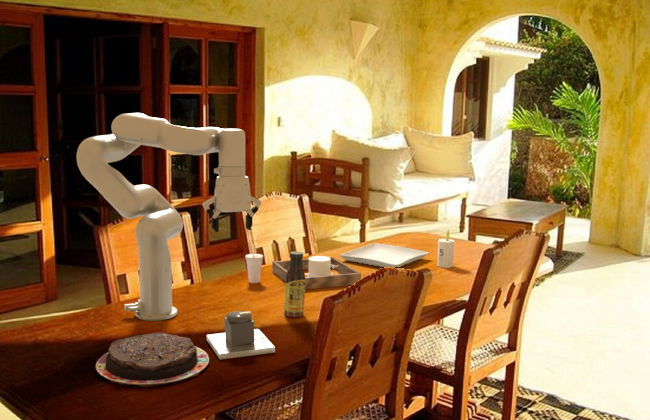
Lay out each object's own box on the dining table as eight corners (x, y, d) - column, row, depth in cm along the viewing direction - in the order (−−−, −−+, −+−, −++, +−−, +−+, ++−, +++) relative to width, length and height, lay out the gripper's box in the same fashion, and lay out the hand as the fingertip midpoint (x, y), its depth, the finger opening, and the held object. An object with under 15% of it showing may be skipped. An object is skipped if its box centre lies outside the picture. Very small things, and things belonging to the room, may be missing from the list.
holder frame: (295, 290, 245) (295, 279, 245) (272, 271, 269) (272, 261, 268) (360, 284, 255) (360, 273, 254) (332, 266, 279) (332, 256, 278)
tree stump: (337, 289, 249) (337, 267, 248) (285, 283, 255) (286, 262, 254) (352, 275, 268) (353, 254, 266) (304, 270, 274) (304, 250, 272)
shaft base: (219, 359, 183) (219, 333, 181) (206, 340, 196) (206, 315, 195) (274, 352, 188) (275, 327, 187) (258, 333, 202) (258, 310, 201)
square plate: (374, 250, 309) (374, 241, 309) (429, 260, 294) (430, 251, 293) (338, 262, 288) (338, 252, 287) (396, 273, 272) (396, 263, 271)
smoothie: (242, 282, 253) (242, 244, 251) (250, 278, 259) (250, 241, 257) (257, 285, 251) (258, 246, 249) (266, 280, 257) (266, 243, 254)
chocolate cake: (227, 374, 175) (227, 348, 174) (114, 399, 160) (113, 371, 159) (184, 339, 198) (184, 316, 197) (82, 358, 183) (81, 334, 182)
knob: (231, 346, 188) (229, 319, 186) (224, 338, 194) (223, 311, 192) (255, 342, 190) (254, 315, 189) (248, 334, 196) (247, 308, 195)
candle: (433, 266, 283) (435, 229, 280) (442, 263, 288) (444, 227, 285) (447, 269, 279) (449, 231, 276) (456, 266, 284) (458, 229, 281)
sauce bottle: (289, 319, 215) (289, 256, 212) (280, 313, 220) (281, 251, 217) (308, 316, 218) (309, 254, 214) (299, 310, 223) (300, 249, 220)
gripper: (205, 174, 196) (205, 234, 199) (264, 172, 203) (264, 231, 206) (199, 171, 203) (200, 229, 206) (257, 169, 209) (257, 226, 212)
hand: (232, 230), depth 206 cm, fingers open, 9 cm apart
